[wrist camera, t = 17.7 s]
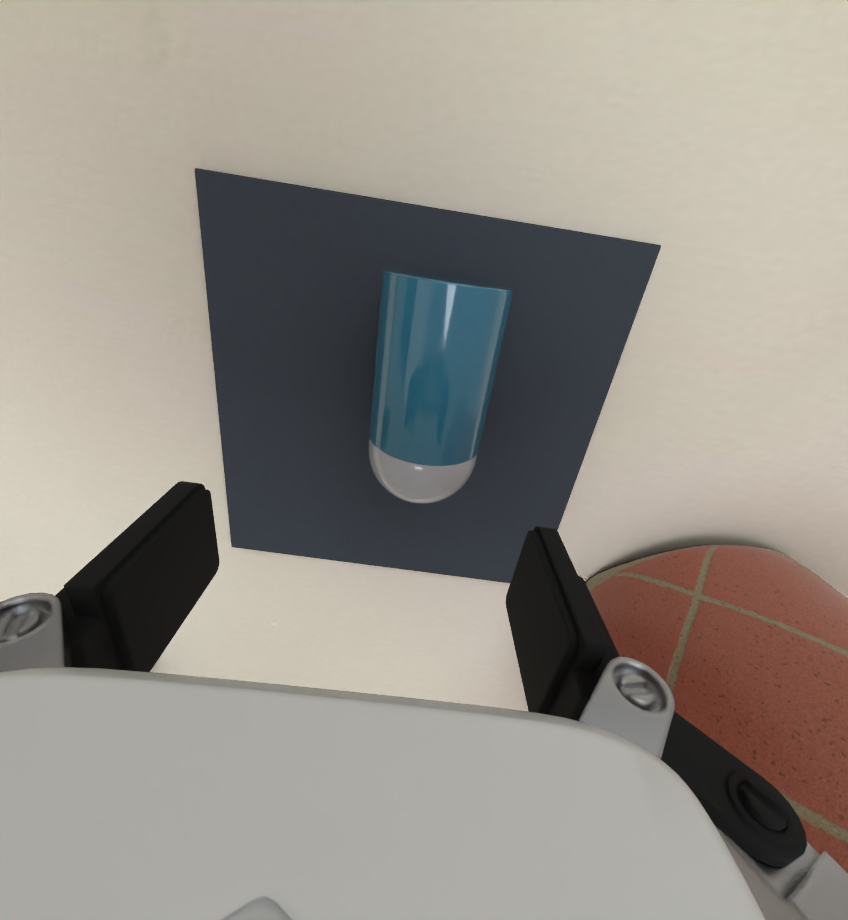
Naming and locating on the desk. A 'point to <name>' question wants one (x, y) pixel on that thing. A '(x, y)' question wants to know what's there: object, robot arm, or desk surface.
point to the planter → (747, 665)
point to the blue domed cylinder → (433, 381)
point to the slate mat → (353, 360)
